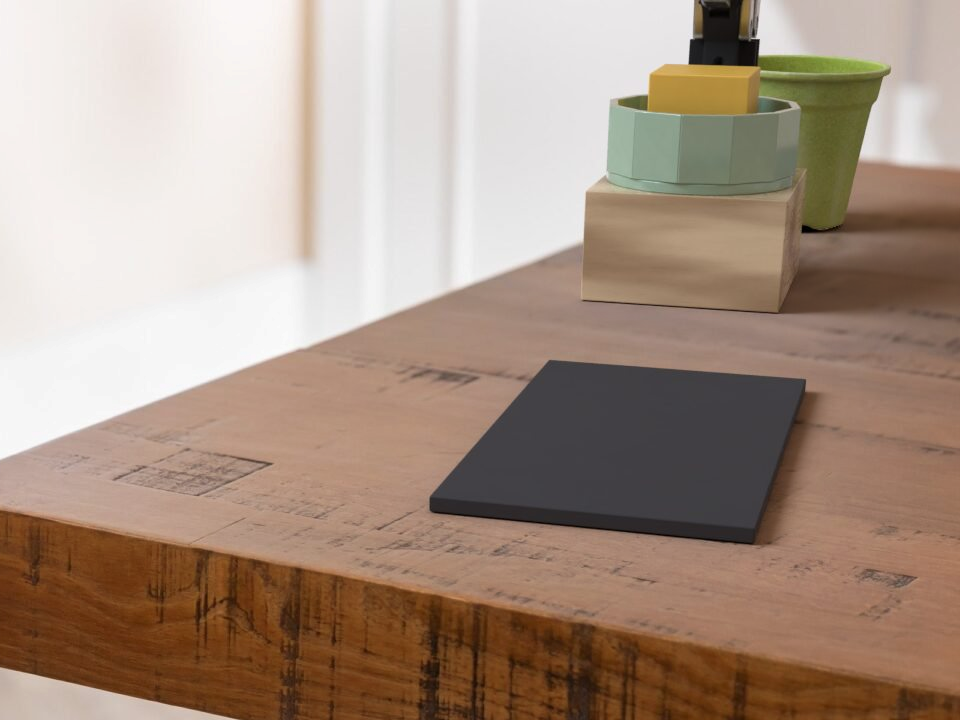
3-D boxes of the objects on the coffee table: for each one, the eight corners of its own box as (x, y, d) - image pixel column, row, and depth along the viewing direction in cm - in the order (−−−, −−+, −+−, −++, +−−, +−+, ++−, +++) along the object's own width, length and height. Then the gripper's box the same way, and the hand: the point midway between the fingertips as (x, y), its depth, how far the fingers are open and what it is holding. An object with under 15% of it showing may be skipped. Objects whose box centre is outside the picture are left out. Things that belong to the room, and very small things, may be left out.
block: (658, 160, 90) (664, 63, 88) (753, 164, 88) (761, 66, 87) (643, 174, 86) (649, 73, 84) (742, 179, 84) (750, 76, 83)
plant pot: (903, 220, 105) (920, 61, 102) (827, 245, 99) (843, 75, 95) (754, 202, 111) (766, 51, 108) (673, 224, 104) (683, 63, 101)
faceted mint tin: (661, 161, 93) (666, 88, 92) (823, 177, 88) (830, 101, 87) (571, 183, 86) (574, 105, 85) (740, 202, 82) (746, 120, 80)
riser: (618, 259, 95) (623, 159, 93) (798, 269, 93) (807, 167, 91) (580, 300, 86) (585, 190, 84) (778, 313, 84) (787, 200, 82)
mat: (548, 371, 74) (548, 359, 74) (805, 391, 71) (806, 378, 71) (428, 511, 58) (429, 496, 58) (753, 544, 55) (754, 528, 55)
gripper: (817, -298, 79) (779, 147, 85) (844, -275, 92) (809, 108, 99) (639, -295, 81) (616, 139, 87) (691, -273, 94) (668, 102, 101)
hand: (719, 121), depth 93 cm, fingers closed
